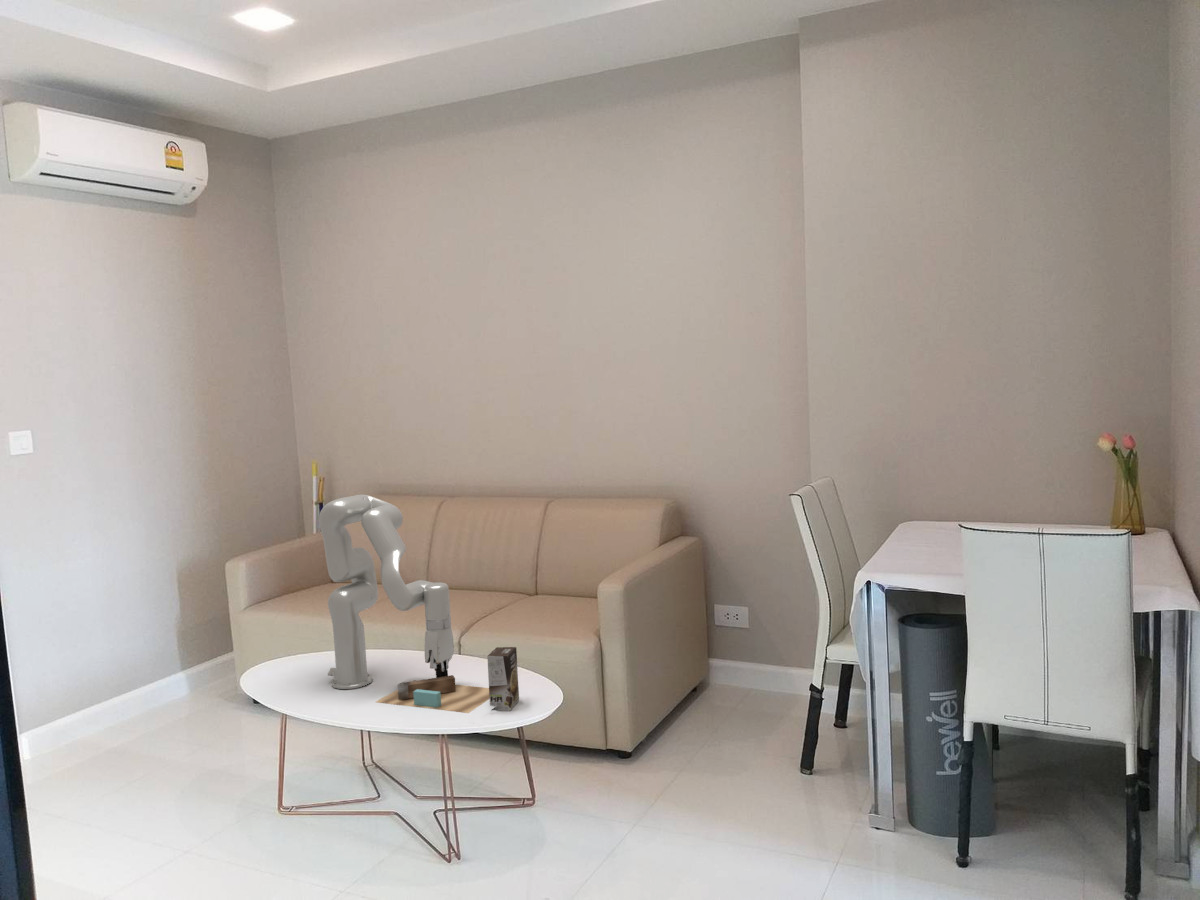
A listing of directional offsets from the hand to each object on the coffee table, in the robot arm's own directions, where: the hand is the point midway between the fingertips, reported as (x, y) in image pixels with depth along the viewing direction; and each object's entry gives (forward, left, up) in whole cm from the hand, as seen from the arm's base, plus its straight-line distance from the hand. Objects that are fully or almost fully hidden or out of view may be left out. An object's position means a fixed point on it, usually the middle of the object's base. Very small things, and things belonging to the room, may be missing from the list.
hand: (442, 682), depth 274 cm
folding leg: (-1, -6, -1) cm, 7 cm away
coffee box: (+24, -4, -4) cm, 24 cm away
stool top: (+3, -6, -3) cm, 7 cm away
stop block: (+4, -14, -2) cm, 14 cm away
